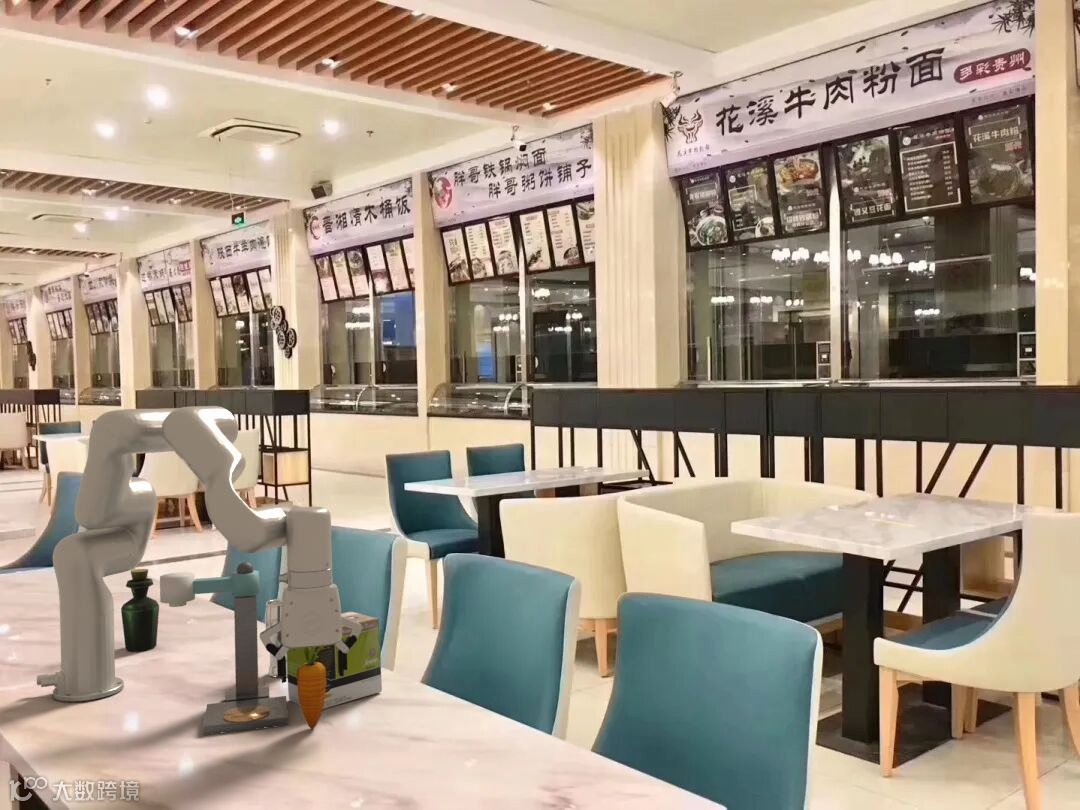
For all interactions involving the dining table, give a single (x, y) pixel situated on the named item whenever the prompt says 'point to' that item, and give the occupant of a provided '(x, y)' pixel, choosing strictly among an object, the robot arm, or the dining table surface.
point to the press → (246, 682)
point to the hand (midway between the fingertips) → (312, 677)
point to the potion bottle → (140, 614)
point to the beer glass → (271, 619)
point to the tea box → (360, 664)
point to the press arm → (207, 585)
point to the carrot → (311, 686)
